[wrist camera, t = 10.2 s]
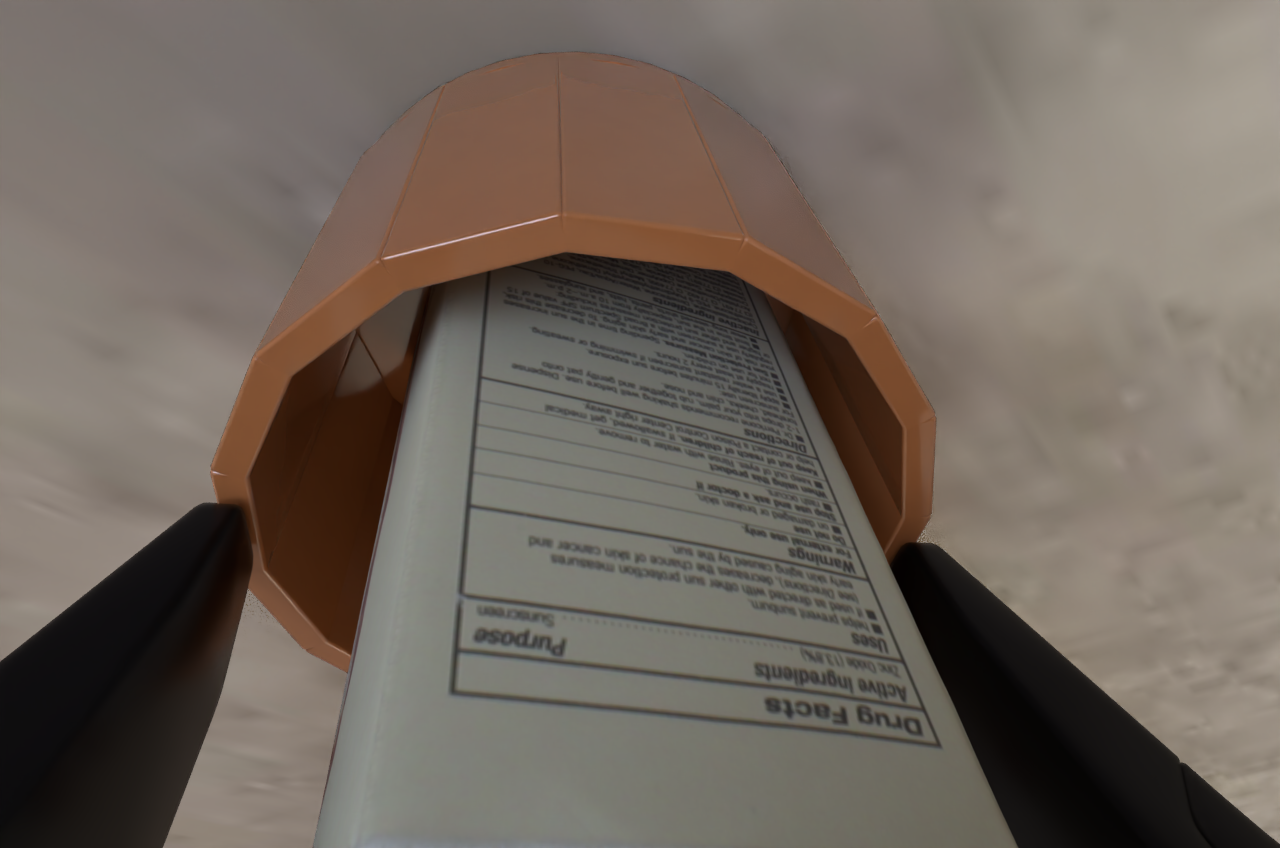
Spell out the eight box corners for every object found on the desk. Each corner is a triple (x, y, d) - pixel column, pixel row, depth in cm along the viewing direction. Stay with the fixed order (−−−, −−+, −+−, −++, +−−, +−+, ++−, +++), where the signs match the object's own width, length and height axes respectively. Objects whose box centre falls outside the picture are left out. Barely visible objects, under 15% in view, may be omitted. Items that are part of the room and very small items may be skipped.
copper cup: (876, 98, 12) (1074, 277, 8) (740, 482, 17) (808, 726, 13) (313, 3, 11) (130, 156, 6) (351, 456, 16) (269, 722, 11)
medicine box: (407, 365, 14) (229, 1061, 6) (469, 143, 12) (301, 835, 4) (661, 434, 16) (770, 1053, 8) (763, 252, 13) (1065, 891, 5)
